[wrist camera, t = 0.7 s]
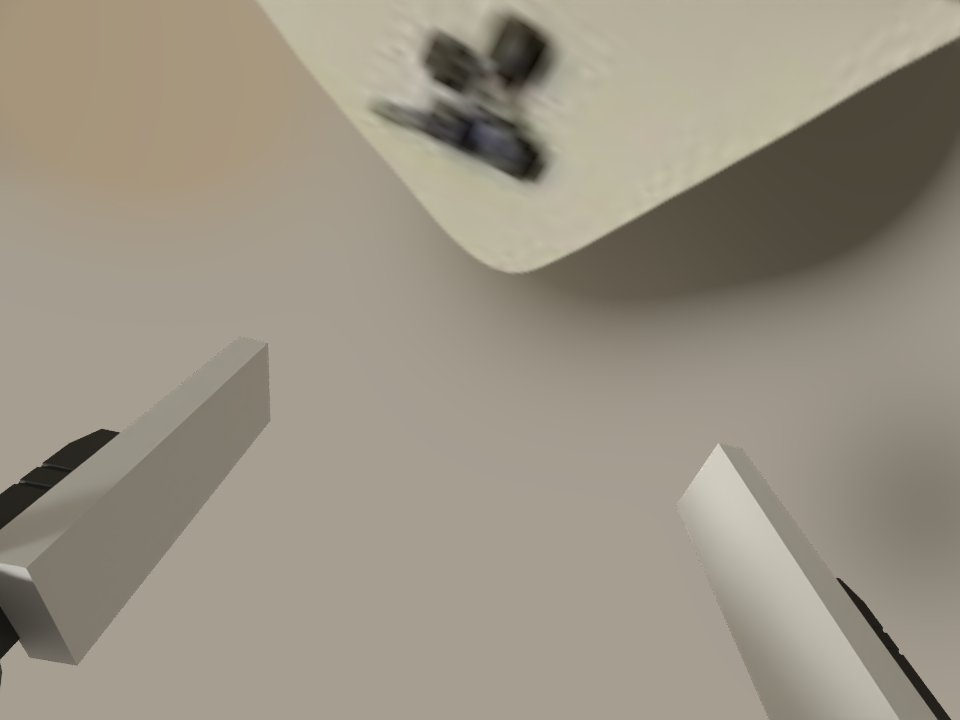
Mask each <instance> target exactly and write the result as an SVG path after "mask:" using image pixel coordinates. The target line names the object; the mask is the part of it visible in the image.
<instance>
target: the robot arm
mask: <svg viewBox="0 0 960 720" xmlns="http://www.w3.org/2000/svg"><path fill="white" fill-rule="evenodd" d="M269 421H270V397H269V365H268V343H266V342H262V341H257V340H253V339H248V338H244V337H238V338H237V339H236V340H235V341H233V342H232V343H231V344H230V345H228V346H227V347H226V348H225V349H223V350H222V351H221V352H220V353H218V354H217V355H216V356H215V357H214V358H212V359H211V360H210V361H209V362H207V363H206V364H205V365H204V366H202V367H201V368H200V369H199V370H197V371H196V372H195V373H194V374H193V375H191V376H190V377H189V378H188V379H186V380H185V381H184V382H183V383H181V385H179V386H178V387H176V388H175V389H174V390H173V391H172V392H170V393H169V394H168V395H167V396H165V397H164V398H163V399H162V400H160V401H159V402H158V403H157V404H155V405H154V406H153V407H152V408H150V410H148V411H147V412H145V413H144V414H143V415H142V416H141V417H139V418H138V419H137V420H136V421H134V422H133V423H132V424H131V425H130V426H128V427H127V428H126V429H124V430H123V431H122V432H121V433H119V432H114V431H109V430H105V429H100V430H98V431H96V432H94V433H91V434H89V435H87V436H85V437H83V438H80V439H78V440H76V441H73V442H71V443H69V444H68V445H67V446H65V447H64V448H62V449H61V450H60V451H58V452H57V453H55V454H54V455H53V456H51V457H50V458H49V459H48V460H46V461H45V462H43V465H42V466H41V467H37V468H35V469H34V470H32V471H31V472H30V473H28V474H27V475H26V476H24V477H23V478H22V479H20V482H19V483H18V484H14V485H12V486H11V487H9V488H8V489H7V490H5V491H4V492H3V493H1V494H0V659H1V658H2V657H3V656H4V655H5V654H6V653H7V652H8V651H9V649H10V648H11V647H12V646H13V645H14V644H15V643H16V642H17V641H18V640H19V641H20V643H21V644H22V646H23V648H24V649H25V651H26V652H27V654H28V656H29V657H30V658H36V659H42V660H48V661H54V662H60V663H66V664H72V665H78V664H79V662H80V661H81V660H82V659H83V657H84V656H85V655H86V653H87V652H88V651H89V650H90V648H91V647H92V646H93V645H94V643H95V642H96V641H97V640H98V638H99V637H100V636H101V634H102V633H103V632H104V631H105V629H106V628H107V627H108V626H109V624H110V623H111V622H112V621H113V619H114V618H115V617H116V615H117V614H118V613H119V612H120V610H121V609H122V608H123V607H124V605H125V604H126V603H127V601H128V600H129V599H130V598H131V596H132V595H133V594H134V593H135V591H136V590H137V589H138V588H139V586H140V585H141V584H142V583H143V581H144V580H145V579H146V577H147V576H148V575H149V574H150V572H151V571H152V570H153V568H154V567H155V566H156V565H157V563H158V562H159V561H160V560H161V558H162V557H163V556H164V555H165V553H166V552H167V551H168V550H169V548H170V547H171V546H172V544H173V543H174V542H175V540H176V539H177V538H178V537H179V536H180V534H181V533H182V532H183V531H184V529H185V528H186V527H187V525H188V524H189V523H190V522H191V520H192V519H193V518H194V517H195V515H196V514H197V513H198V511H199V510H200V509H201V508H202V506H203V505H204V504H205V503H206V501H207V500H208V499H209V497H210V496H211V495H212V494H213V492H214V491H215V490H216V489H217V487H218V486H219V485H220V484H221V482H222V481H223V480H224V479H225V477H226V476H227V475H228V473H229V472H230V471H231V470H232V468H233V467H234V466H235V464H236V463H237V462H238V461H239V459H240V458H241V457H242V456H243V454H244V453H245V452H246V451H247V449H248V448H249V447H250V445H251V444H252V443H253V442H254V440H255V439H256V438H257V436H258V435H259V434H260V433H261V431H262V430H263V429H264V428H265V427H266V425H267V424H268V423H269ZM676 508H677V510H678V513H679V515H680V517H681V519H682V522H683V524H684V526H685V528H686V531H687V533H688V535H689V538H690V540H691V542H692V544H693V547H694V549H695V551H696V554H697V556H698V558H699V561H700V563H701V565H702V567H703V570H704V572H705V574H706V577H707V579H708V581H709V583H710V586H711V588H712V590H713V593H714V595H715V597H716V599H717V602H718V604H719V606H720V609H721V611H722V613H723V615H724V618H725V620H726V622H727V625H728V627H729V629H730V631H731V634H732V636H733V638H734V640H735V643H736V645H737V647H738V650H739V652H740V654H741V656H742V659H743V661H744V663H745V666H746V668H747V670H748V672H749V675H750V677H751V679H752V681H753V684H754V686H755V689H756V691H757V693H758V695H759V698H760V700H761V702H762V704H763V707H764V709H765V711H766V714H767V716H768V718H769V720H951V719H950V717H949V716H948V715H947V713H946V712H945V711H944V709H943V708H942V707H941V705H940V704H939V703H938V702H937V700H936V698H935V697H934V696H933V694H932V693H931V692H930V690H929V689H928V688H927V686H926V685H925V684H924V682H923V681H922V680H921V678H920V677H919V676H918V674H917V673H916V672H915V670H914V669H913V668H912V666H911V665H910V663H909V662H908V661H907V660H906V658H905V657H904V655H901V654H899V651H898V650H899V649H898V647H897V646H896V645H895V644H894V642H893V641H892V639H891V638H890V636H889V635H888V634H887V633H884V632H883V627H882V626H881V624H880V623H879V622H878V620H877V619H876V618H875V616H874V615H873V614H872V612H871V611H870V609H869V608H868V607H867V605H866V604H865V603H864V602H863V601H862V600H861V599H860V598H859V597H858V596H857V595H856V594H855V593H854V592H853V591H852V590H851V589H850V588H849V587H848V586H847V585H846V584H845V583H844V582H843V581H841V579H839V578H835V576H834V575H833V573H832V572H831V571H830V569H829V568H828V567H827V565H826V564H825V562H824V561H823V560H822V558H821V557H820V555H819V554H818V553H817V551H816V550H815V548H814V547H813V546H812V544H811V543H810V542H809V540H808V539H807V537H806V536H805V534H804V533H803V532H802V530H801V529H800V528H799V526H798V525H797V524H796V522H795V521H794V519H793V518H792V516H791V515H790V514H789V512H788V511H787V510H786V508H785V507H784V505H783V504H782V503H781V501H780V500H779V498H778V497H777V496H776V494H775V493H774V491H773V490H772V489H771V487H770V486H769V485H768V483H767V482H766V480H765V479H764V477H763V476H762V475H761V473H760V472H759V471H758V469H757V468H756V466H755V465H754V464H753V462H752V461H751V459H750V458H749V457H748V455H747V454H746V452H745V451H744V450H743V449H742V448H738V447H733V446H728V445H724V444H719V443H718V445H717V446H716V447H715V449H714V450H713V452H712V453H711V455H710V456H709V458H708V459H707V461H706V462H705V464H704V465H703V467H702V468H701V470H700V471H699V473H698V474H697V475H696V477H695V479H694V480H693V481H692V483H691V484H690V486H689V487H688V489H687V490H686V492H685V493H684V495H683V496H682V498H681V499H680V500H679V502H678V503H677V505H676ZM1 676H2V670H1V665H0V684H1Z"/></svg>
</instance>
